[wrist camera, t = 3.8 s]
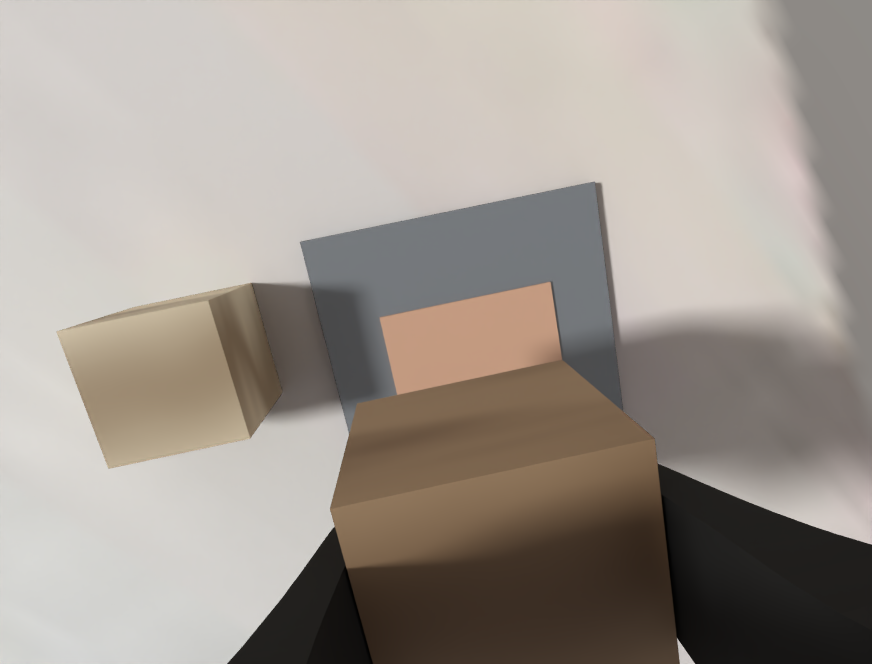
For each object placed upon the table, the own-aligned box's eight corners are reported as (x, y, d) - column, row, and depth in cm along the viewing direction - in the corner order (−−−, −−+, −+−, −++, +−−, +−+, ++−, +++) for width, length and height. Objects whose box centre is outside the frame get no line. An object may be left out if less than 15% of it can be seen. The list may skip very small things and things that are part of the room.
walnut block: (589, 540, 13) (684, 700, 9) (401, 581, 13) (400, 765, 9) (562, 359, 12) (654, 438, 8) (357, 403, 12) (330, 509, 7)
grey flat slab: (630, 494, 20) (635, 500, 19) (380, 550, 19) (380, 556, 19) (591, 182, 17) (595, 181, 17) (301, 241, 17) (299, 241, 16)
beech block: (283, 391, 18) (249, 438, 14) (172, 414, 18) (108, 468, 14) (252, 282, 17) (208, 300, 13) (135, 306, 17) (56, 331, 13)
